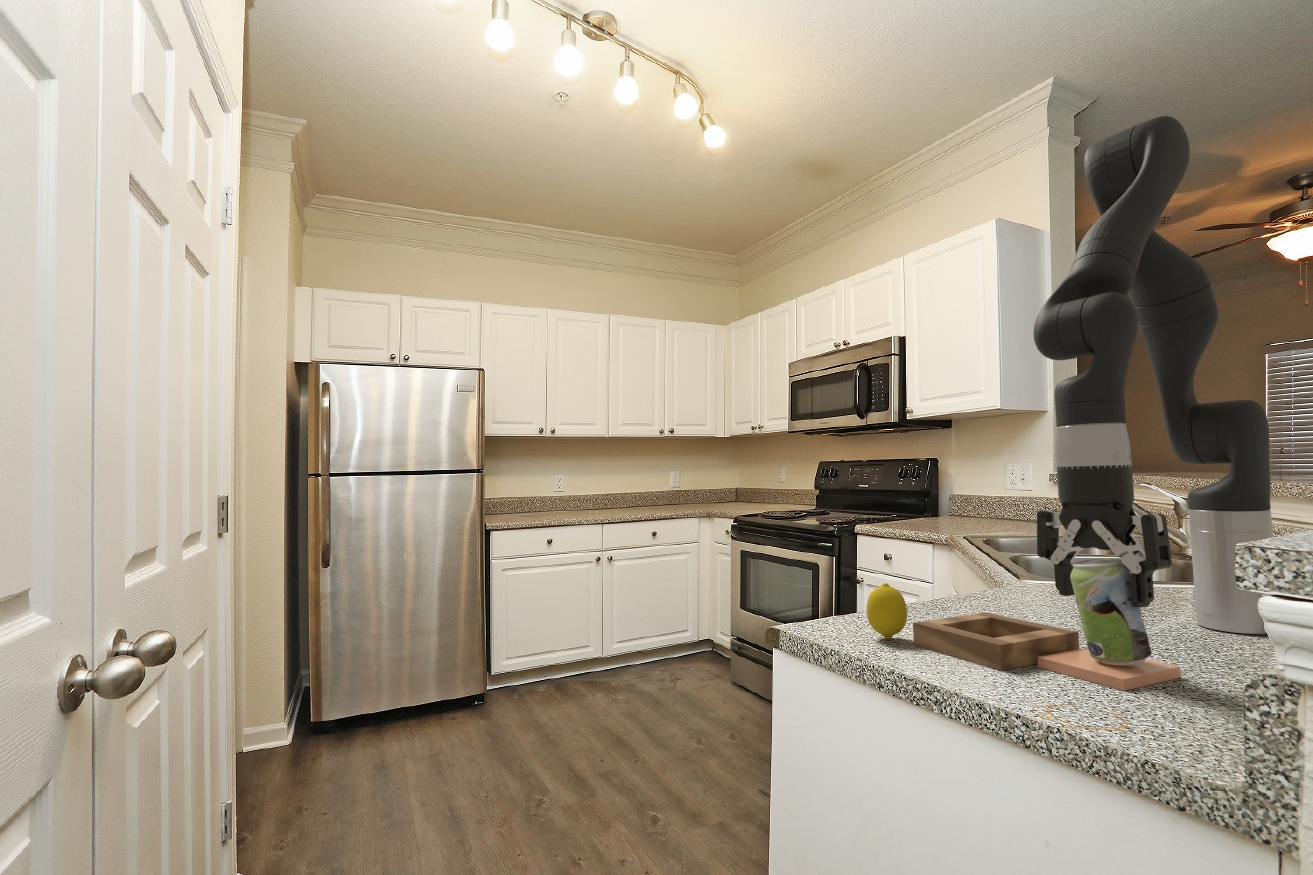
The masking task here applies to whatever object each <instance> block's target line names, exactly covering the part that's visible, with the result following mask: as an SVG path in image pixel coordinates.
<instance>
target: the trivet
mask: <svg viewBox="0 0 1313 875" xmlns="http://www.w3.org/2000/svg"><path fill="white" fill-rule="evenodd" d="M1037 667H1038V668H1040V669H1044V670H1047V671H1051V672H1055V673H1059V674H1062V675H1065V676H1070V677H1073V678H1077V679H1081V680H1085V681H1088V682H1091V683H1095V684H1097V685H1098V684H1099V685H1102V686H1106V687H1110V688H1113V689H1116V690H1119V691H1120V690H1121V691H1123V692H1125V691H1130V690H1132V689H1133V690H1134V689H1138V688H1142V687H1146V686H1150V685H1154V684H1159V683H1163V682H1167V681H1171V680H1177V679H1181V678H1182V676H1181V674H1182V672H1181V666H1179V665H1173V664H1169V663H1164V662H1162V661H1161V662H1160V661H1155V660H1151V659H1147V658H1146V660H1145V661H1144V662H1142V663H1139V664H1135V665H1125V666H1116V665H1107V664H1103V663H1101V662H1099V660H1098V659H1095V658H1093V657H1091V656H1090V654H1089V650H1088V647H1083V648H1079V649H1078V650H1072V651H1067V652H1062V653H1056V654H1051V655H1046V656H1040V657H1038V664H1037Z"/></svg>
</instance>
